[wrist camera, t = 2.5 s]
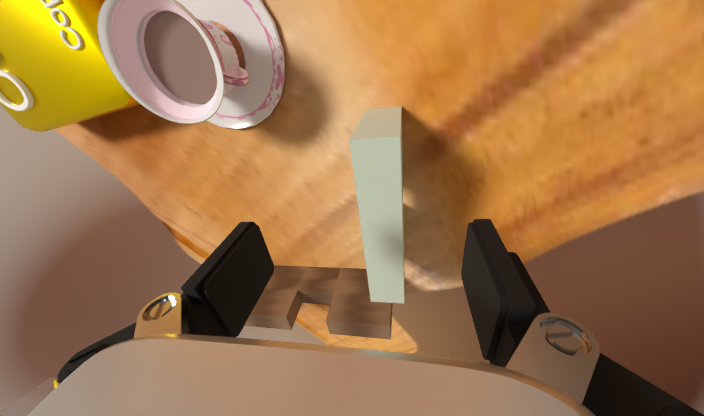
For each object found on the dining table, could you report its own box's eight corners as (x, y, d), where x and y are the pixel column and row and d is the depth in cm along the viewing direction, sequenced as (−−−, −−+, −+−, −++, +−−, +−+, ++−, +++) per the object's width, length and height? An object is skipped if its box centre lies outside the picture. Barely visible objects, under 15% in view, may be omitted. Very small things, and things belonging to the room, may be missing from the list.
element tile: (177, 93, 24) (133, 103, 20) (73, 124, 28) (20, 137, 24) (45, -148, 17) (-66, -206, 13) (-71, -59, 21) (-183, -83, 17)
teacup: (165, 108, 25) (104, 125, 20) (133, -62, 18) (28, -102, 13) (282, 142, 25) (250, 168, 20) (293, -16, 18) (250, -38, 13)
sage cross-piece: (401, 106, 21) (400, 136, 14) (404, 244, 29) (404, 303, 22) (366, 109, 22) (349, 139, 15) (378, 243, 30) (370, 301, 23)
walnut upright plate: (392, 270, 32) (389, 325, 25) (393, 283, 33) (390, 339, 27) (262, 265, 35) (232, 312, 29) (267, 277, 37) (239, 325, 30)
